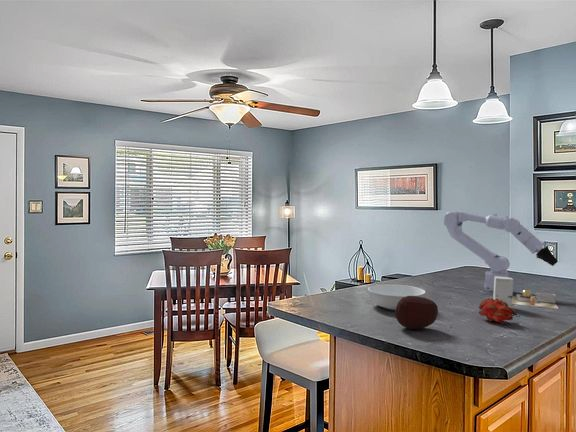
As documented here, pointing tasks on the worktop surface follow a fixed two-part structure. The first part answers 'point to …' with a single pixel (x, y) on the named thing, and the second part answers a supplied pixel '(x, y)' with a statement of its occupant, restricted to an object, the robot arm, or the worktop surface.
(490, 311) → the dragon fruit
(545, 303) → the board
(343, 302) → the worktop surface
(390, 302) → the serving bowl
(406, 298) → the potato
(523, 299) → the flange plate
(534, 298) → the dowel
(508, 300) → the skincare box
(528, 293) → the post
